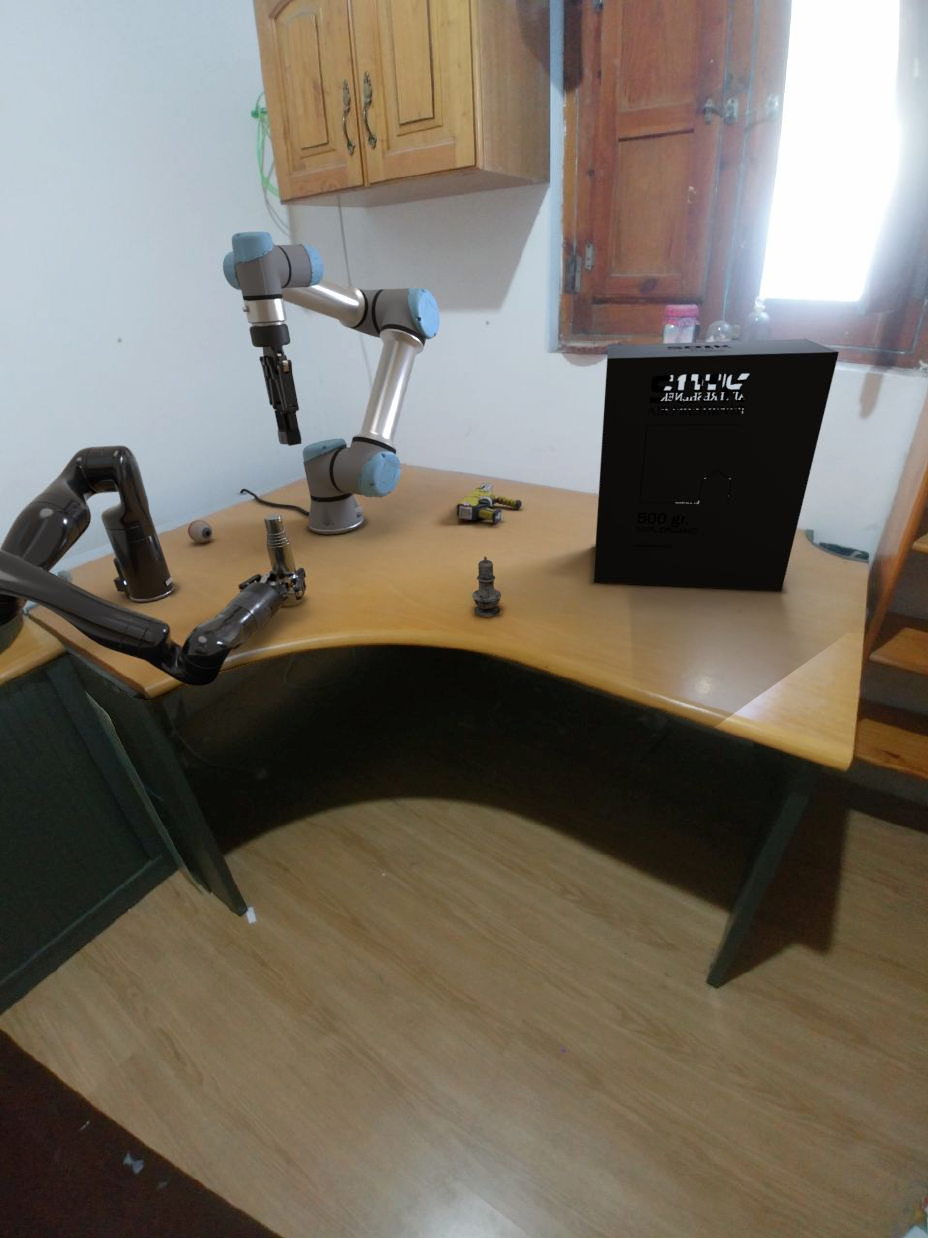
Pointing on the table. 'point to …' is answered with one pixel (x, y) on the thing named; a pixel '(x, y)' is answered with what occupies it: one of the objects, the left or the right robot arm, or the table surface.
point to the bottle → (280, 553)
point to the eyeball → (200, 531)
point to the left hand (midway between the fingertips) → (291, 571)
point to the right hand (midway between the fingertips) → (290, 441)
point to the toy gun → (483, 505)
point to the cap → (283, 436)
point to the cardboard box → (707, 461)
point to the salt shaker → (486, 591)
